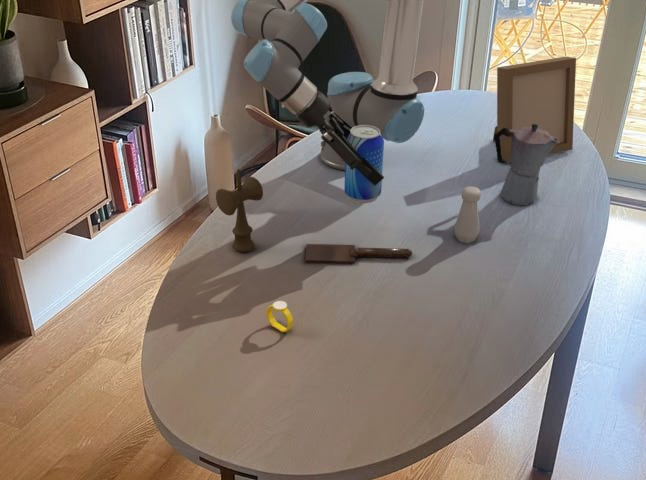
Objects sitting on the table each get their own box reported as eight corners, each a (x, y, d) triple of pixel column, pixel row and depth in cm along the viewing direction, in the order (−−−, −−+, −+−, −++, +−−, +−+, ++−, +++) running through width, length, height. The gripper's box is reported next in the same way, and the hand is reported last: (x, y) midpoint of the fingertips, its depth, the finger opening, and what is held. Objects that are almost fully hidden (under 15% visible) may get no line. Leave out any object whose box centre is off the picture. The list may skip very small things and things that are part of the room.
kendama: (218, 251, 186) (211, 172, 174) (249, 235, 192) (245, 157, 180) (236, 261, 183) (230, 181, 171) (267, 244, 189) (264, 165, 177)
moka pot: (547, 210, 203) (562, 135, 191) (485, 203, 206) (495, 129, 193) (547, 191, 211) (561, 118, 199) (487, 185, 213) (497, 112, 201)
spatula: (411, 248, 188) (411, 241, 187) (412, 265, 183) (413, 257, 182) (306, 246, 189) (306, 239, 187) (305, 262, 183) (305, 255, 182)
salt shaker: (463, 229, 195) (470, 180, 188) (483, 238, 192) (490, 189, 184) (448, 238, 192) (453, 188, 184) (467, 247, 189) (474, 198, 181)
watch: (264, 325, 165) (263, 301, 161) (273, 319, 166) (272, 295, 163) (286, 337, 162) (285, 313, 158) (295, 331, 163) (295, 307, 160)
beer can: (361, 209, 183) (364, 142, 173) (336, 194, 188) (337, 129, 178) (388, 197, 188) (392, 132, 178) (363, 183, 193) (366, 119, 183)
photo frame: (571, 152, 229) (589, 65, 214) (505, 166, 222) (518, 76, 207) (540, 131, 240) (555, 46, 225) (476, 144, 233) (487, 57, 218)
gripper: (295, 95, 184) (364, 160, 194) (292, 135, 167) (367, 205, 177) (319, 72, 181) (388, 140, 191) (318, 111, 164) (393, 183, 174)
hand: (378, 171), depth 184 cm, fingers closed on beer can, 8 cm apart
